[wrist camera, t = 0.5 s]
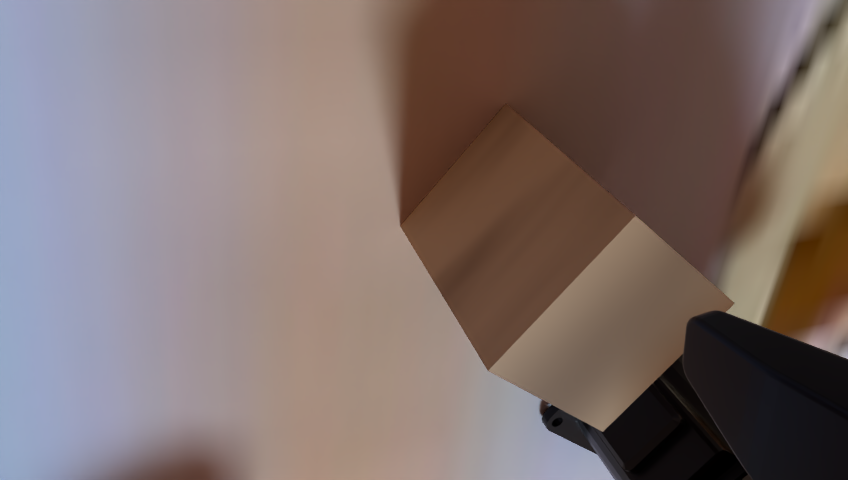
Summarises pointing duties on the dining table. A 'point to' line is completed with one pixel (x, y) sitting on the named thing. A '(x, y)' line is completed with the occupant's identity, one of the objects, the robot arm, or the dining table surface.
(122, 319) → the dining table surface
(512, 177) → the walnut block
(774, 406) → the robot arm
